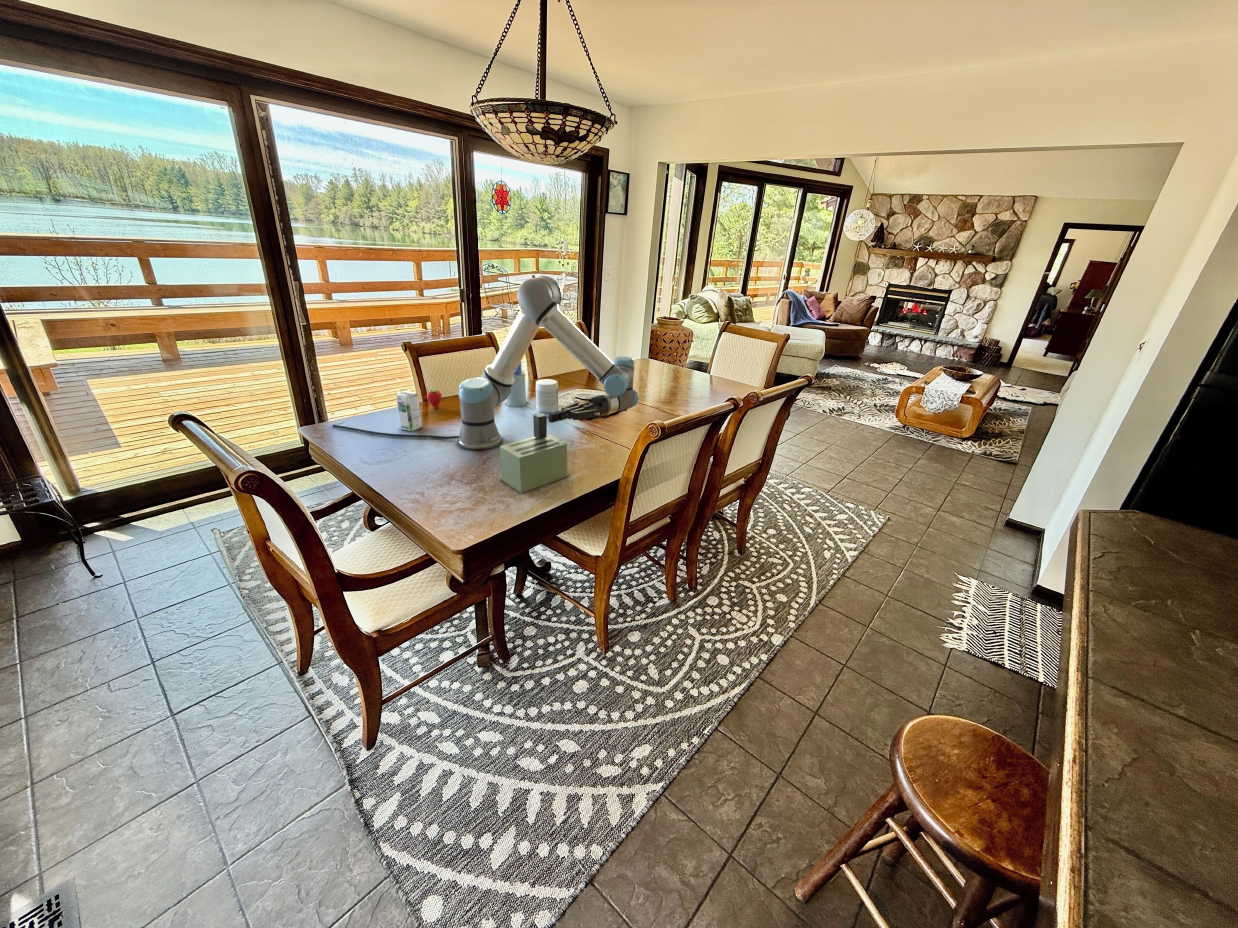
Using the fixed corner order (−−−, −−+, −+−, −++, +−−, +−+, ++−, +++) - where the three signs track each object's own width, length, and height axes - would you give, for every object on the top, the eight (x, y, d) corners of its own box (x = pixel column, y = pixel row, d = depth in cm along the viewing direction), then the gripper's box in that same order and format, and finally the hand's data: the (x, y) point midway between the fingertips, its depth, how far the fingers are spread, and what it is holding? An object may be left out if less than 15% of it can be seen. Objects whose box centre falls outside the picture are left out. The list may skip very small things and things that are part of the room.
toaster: (521, 493, 147) (519, 457, 142) (501, 480, 154) (499, 445, 149) (567, 476, 159) (567, 442, 154) (547, 465, 166) (546, 432, 161)
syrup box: (400, 429, 189) (394, 393, 183) (411, 424, 194) (406, 389, 188) (411, 431, 187) (406, 396, 181) (422, 427, 192) (417, 392, 186)
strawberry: (425, 410, 209) (422, 388, 205) (432, 405, 216) (430, 383, 212) (438, 411, 209) (435, 389, 205) (445, 406, 216) (443, 384, 212)
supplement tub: (562, 415, 211) (562, 383, 205) (542, 419, 206) (541, 386, 200) (552, 409, 219) (551, 377, 212) (533, 412, 214) (532, 380, 207)
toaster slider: (539, 439, 155) (538, 417, 152) (533, 436, 157) (533, 414, 154) (546, 437, 157) (546, 415, 154) (541, 434, 159) (540, 412, 155)
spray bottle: (530, 403, 225) (528, 349, 214) (516, 407, 218) (514, 352, 207) (515, 399, 229) (513, 346, 218) (502, 403, 222) (499, 349, 212)
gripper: (615, 419, 170) (562, 435, 154) (590, 409, 178) (538, 423, 163) (616, 399, 166) (562, 413, 151) (591, 390, 175) (537, 402, 159)
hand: (550, 418), depth 157 cm, fingers closed
